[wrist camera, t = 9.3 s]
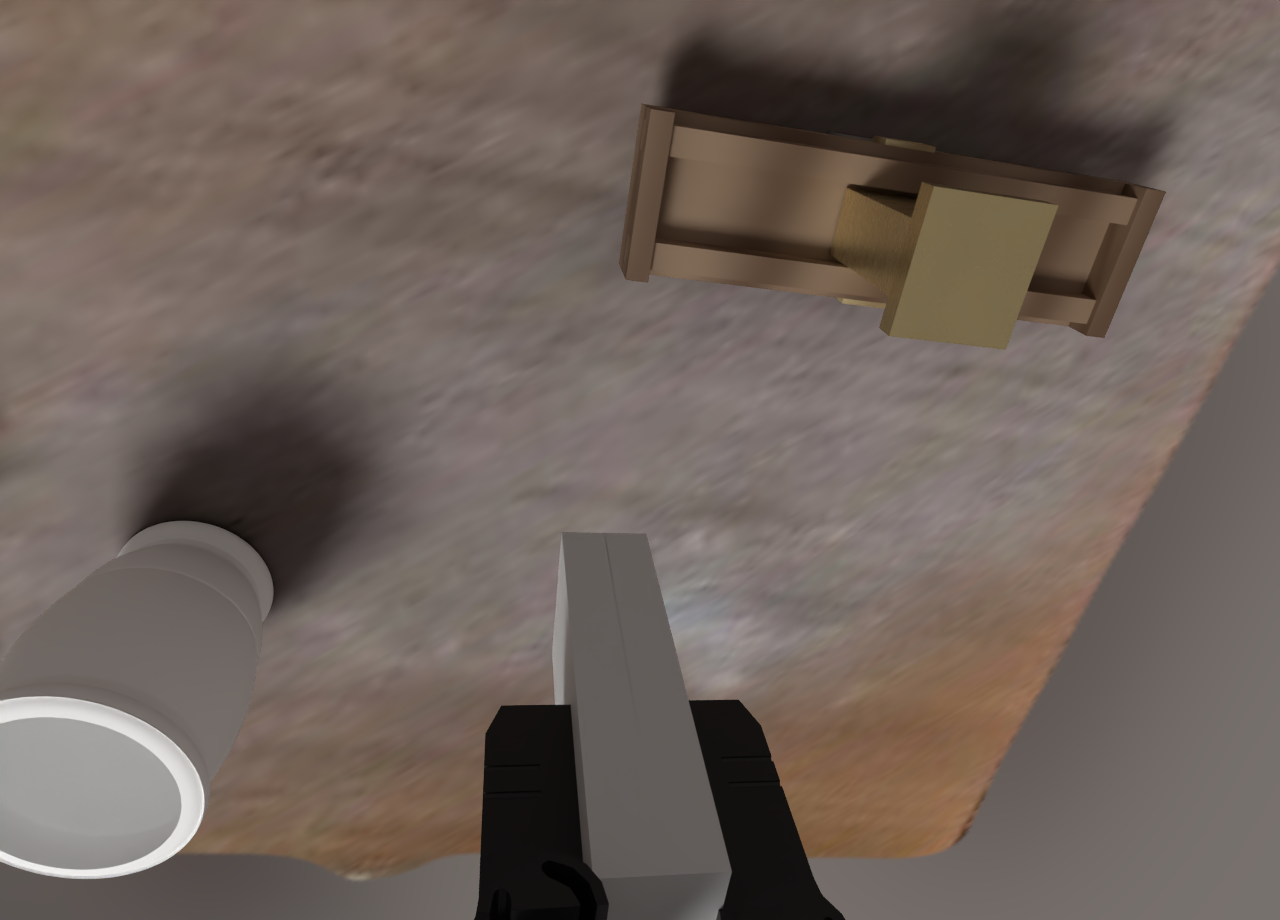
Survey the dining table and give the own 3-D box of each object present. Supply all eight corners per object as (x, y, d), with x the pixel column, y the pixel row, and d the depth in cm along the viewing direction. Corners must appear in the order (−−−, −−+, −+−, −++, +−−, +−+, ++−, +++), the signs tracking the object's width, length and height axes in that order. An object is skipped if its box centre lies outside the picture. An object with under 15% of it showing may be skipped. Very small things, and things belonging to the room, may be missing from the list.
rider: (822, 281, 39) (888, 336, 31) (854, 157, 36) (933, 186, 29) (919, 293, 39) (1005, 349, 32) (957, 173, 37) (1058, 205, 30)
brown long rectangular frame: (613, 255, 41) (625, 285, 36) (635, 94, 38) (651, 102, 33) (1040, 309, 45) (1102, 342, 40) (1093, 169, 42) (1168, 186, 37)
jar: (78, 498, 43) (-118, 701, 30) (284, 502, 45) (184, 697, 32) (117, 655, 48) (-39, 889, 35) (301, 653, 50) (220, 877, 36)
